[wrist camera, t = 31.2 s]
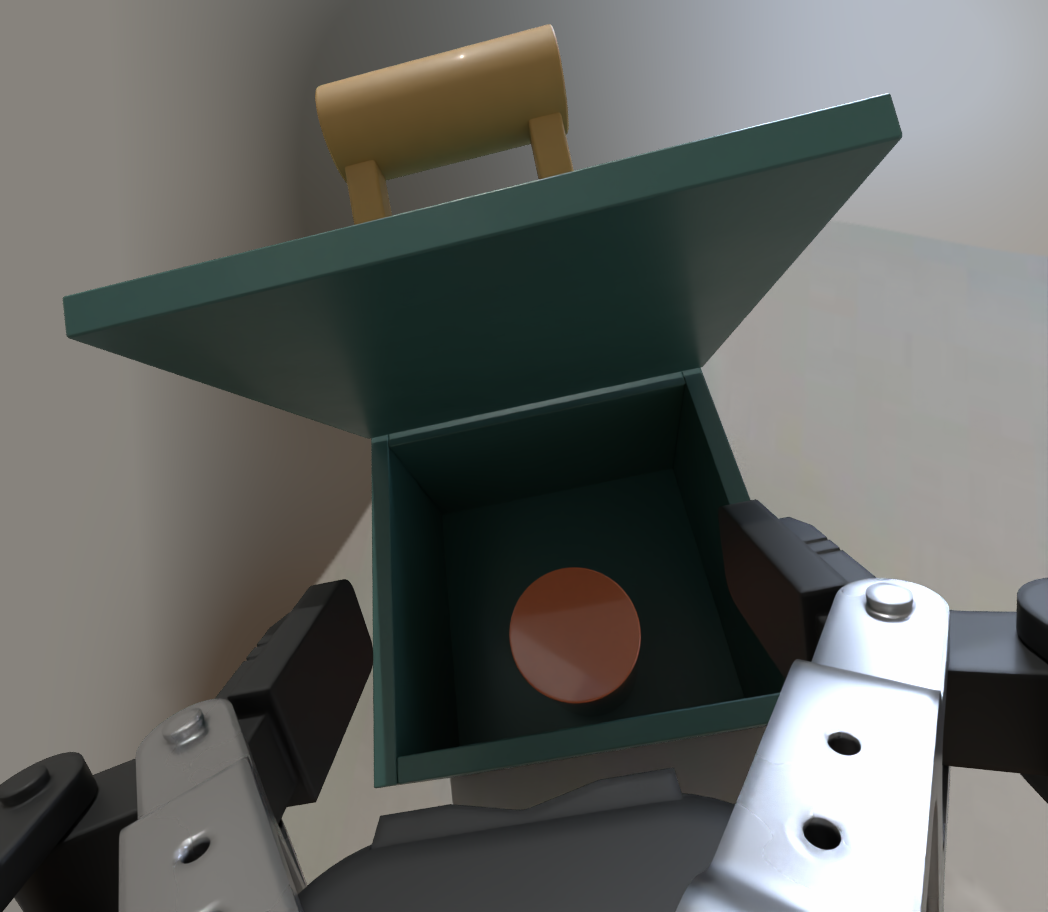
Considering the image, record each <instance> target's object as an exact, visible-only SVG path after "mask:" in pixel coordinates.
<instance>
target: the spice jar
mask: <svg viewBox="0 0 1048 912" xmlns="http://www.w3.org/2000/svg"><path fill="white" fill-rule="evenodd" d="M509 642H510V648H511V653H512V656H513V659H514V662H515V664H516V666H517V668H518V670H519V671H520V673H521V674H522V676H523V677H524V678H525V680H526V681H527V682H528V683H529V684H530V685H531V686H532V687H533V688H534V689H536V690H537V691H538V692H540V693H541V694H543V695H544V696H546V697H547V698H549V699H550V700H552V701H553V702H555V703H556V704H558V705H559V706H561V707H562V708H564V709H565V710H567V711H569V712H571V713H573V714H576V715H580V716H585V717H595V716H601V715H605V714H607V713H610V712H612V711H614V710H615V709H617V708H618V707H619V706H621V705H622V704H623V703H624V702H625V701H626V700H627V698H628V697H629V695H630V694H631V692H632V690H633V688H634V686H635V683H636V679H637V674H638V664H639V655H640V645H641V627H640V621H639V618H638V614H637V611H636V609H635V607H634V604H633V602H632V601H631V599H630V598H629V596H628V595H627V593H626V592H625V591H624V590H623V589H622V588H621V587H620V586H619V585H618V584H617V583H616V582H615V581H613V580H612V579H611V578H609V577H607V576H606V575H604V574H602V573H600V572H597V571H595V570H591V569H587V568H580V567H569V568H562V569H558V570H554V571H551V572H549V573H547V574H545V575H543V576H541V577H539V578H538V579H537V580H535V581H534V582H533V583H532V584H531V585H530V586H529V587H527V589H526V590H525V591H524V592H523V594H522V595H521V596H520V598H519V600H518V601H517V603H516V605H515V608H514V610H513V613H512V616H511V621H510V627H509Z"/></svg>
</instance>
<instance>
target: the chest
mask: <svg viewBox="0 0 1048 912" xmlns="http://www.w3.org/2000/svg"><path fill="white" fill-rule="evenodd" d="M371 440H372V574H373V704H374V788H381V787H388V786H395V785H402V784H409V783H416V782H423V781H430V780H437V779H444V778H451V777H457V776H463V775H470V774H476V773H482V772H488V771H494V770H500V769H506V768H512V767H518V766H524V765H531V764H537V763H543V762H549V761H555V760H561V759H567V758H573V757H579V756H585V755H592V754H598V753H604V752H610V751H616V750H622V749H628V748H634V747H640V746H647V745H653V744H659V743H665V742H671V741H677V740H683V739H689V738H695V737H701V736H708V735H714V734H720V733H726V732H732V731H738V730H744V729H750V728H756V727H762V726H767V725H768V722H769V720H770V717H771V715H772V712H773V710H774V707H775V705H776V702H777V700H778V698H779V695H780V693H781V690H782V688H783V685H784V683H785V679H784V677H783V676H782V674H781V673H780V671H779V670H778V668H777V667H776V665H775V664H774V662H773V661H772V659H771V658H770V656H769V655H768V653H767V652H766V650H765V649H764V647H763V646H762V644H761V643H760V641H759V640H758V638H757V637H756V635H755V634H754V632H753V631H752V629H751V628H750V626H749V625H748V623H747V622H746V620H745V618H744V617H743V615H742V614H741V612H740V611H739V609H738V608H737V606H736V605H735V603H734V601H733V599H732V597H731V594H730V591H729V588H728V585H727V581H726V576H725V569H724V561H723V554H722V546H721V538H720V531H719V523H718V509H719V507H720V506H725V505H730V504H735V503H740V502H745V501H750V498H749V495H748V492H747V490H746V487H745V484H744V482H743V479H742V476H741V474H740V471H739V469H738V466H737V463H736V461H735V458H734V455H733V453H732V450H731V447H730V445H729V442H728V439H727V437H726V434H725V431H724V429H723V426H722V424H721V421H720V418H719V416H718V413H717V410H716V408H715V405H714V402H713V400H712V397H711V394H710V392H709V389H708V386H707V384H706V381H705V378H704V376H703V373H702V371H701V368H695V369H690V370H686V371H681V372H677V373H672V374H667V375H663V376H658V377H653V378H649V379H644V380H639V381H635V382H630V383H625V384H621V385H616V386H611V387H607V388H602V389H597V390H593V391H588V392H584V393H579V394H574V395H570V396H565V397H560V398H556V399H551V400H546V401H542V402H537V403H532V404H528V405H523V406H518V407H514V408H509V409H505V410H500V411H495V412H491V413H486V414H481V415H477V416H472V417H467V418H463V419H458V420H453V421H449V422H444V423H439V424H435V425H430V426H426V427H421V428H416V429H412V430H407V431H402V432H398V433H393V434H388V435H384V436H379V437H374V438H371ZM569 567H580V568H587V569H591V570H595V571H597V572H600V573H602V574H604V575H606V576H607V577H609V578H611V579H612V580H613V581H615V582H616V583H617V584H618V585H619V586H620V587H621V588H622V589H623V590H624V591H625V592H626V593H627V595H628V596H629V598H630V599H631V601H632V602H633V604H634V607H635V609H636V611H637V614H638V618H639V621H640V627H641V645H640V655H639V664H638V674H637V679H636V683H635V686H634V688H633V690H632V692H631V694H630V695H629V697H628V698H627V700H626V701H625V702H624V703H623V704H622V705H621V706H619V707H618V708H617V709H615V710H614V711H612V712H610V713H607V714H605V715H601V716H595V717H585V716H580V715H576V714H573V713H571V712H569V711H567V710H565V709H564V708H562V707H561V706H559V705H558V704H556V703H555V702H553V701H552V700H550V699H549V698H547V697H546V696H544V695H543V694H541V693H540V692H538V691H537V690H536V689H534V688H533V687H532V686H531V685H530V684H529V683H528V682H527V681H526V680H525V678H524V677H523V676H522V674H521V673H520V671H519V670H518V668H517V666H516V664H515V662H514V659H513V656H512V653H511V648H510V642H509V627H510V621H511V616H512V613H513V610H514V608H515V605H516V603H517V601H518V600H519V598H520V596H521V595H522V594H523V592H524V591H525V590H526V589H527V587H529V586H530V585H531V584H532V583H533V582H534V581H535V580H537V579H538V578H539V577H541V576H543V575H545V574H547V573H549V572H551V571H554V570H558V569H562V568H569Z"/></svg>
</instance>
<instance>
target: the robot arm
mask: <svg viewBox="0 0 1048 912" xmlns="http://www.w3.org/2000/svg"><path fill="white" fill-rule="evenodd" d="M718 523H719V531H720V538H721V546H722V554H723V561H724V569H725V576H726V581H727V585H728V588H729V591H730V594H731V597H732V599H733V601H734V603H735V605H736V606H737V608H738V609H739V611H740V612H741V614H742V615H743V617H744V618H745V620H746V622H747V623H748V625H749V626H750V628H751V629H752V631H753V632H754V634H755V635H756V637H757V638H758V640H759V641H760V643H761V644H762V646H763V647H764V649H765V650H766V652H767V653H768V655H769V656H770V658H771V659H772V661H773V662H774V664H775V665H776V667H777V668H778V670H779V671H780V673H781V674H782V676H783V677H784V679H785V683H784V685H783V688H782V690H781V693H780V695H779V698H778V700H777V702H776V705H775V707H774V710H773V712H772V715H771V717H770V720H769V722H768V725H767V727H766V730H765V732H764V735H763V737H762V740H761V742H760V745H759V747H758V750H757V752H756V755H755V757H754V760H753V762H752V764H751V767H750V769H749V772H748V774H747V777H746V779H745V782H744V784H743V787H742V789H741V792H740V794H739V797H738V799H737V802H736V804H732V803H728V802H725V801H722V800H718V799H715V798H710V797H705V796H699V795H694V794H683V793H681V790H680V787H679V783H678V780H677V777H676V773H675V770H674V768H668V769H662V770H656V771H650V772H644V773H638V774H632V775H626V776H620V777H614V778H608V779H601V780H598V781H595V782H593V783H591V784H588V785H586V786H583V787H581V788H578V789H576V790H573V791H571V792H568V793H566V794H563V795H561V796H559V797H556V798H554V799H551V800H549V801H546V802H544V803H541V804H539V805H536V806H534V807H531V808H528V809H524V810H512V809H500V808H488V807H475V806H463V805H451V804H450V805H444V806H438V807H432V808H426V809H419V810H413V811H407V812H401V813H395V814H389V815H383V816H380V818H379V822H378V825H377V829H376V832H375V836H374V839H373V843H372V845H370V846H367V847H365V848H363V849H361V850H359V851H357V852H355V853H353V854H351V855H349V856H348V857H346V858H344V859H343V860H341V861H340V862H338V863H337V864H335V865H333V866H332V867H330V868H329V869H328V870H326V871H325V872H324V873H322V874H321V875H320V876H318V877H317V878H316V879H315V880H313V881H312V882H311V883H310V884H309V885H308V886H307V883H306V880H305V878H304V875H303V872H302V870H301V867H300V864H299V861H298V859H297V856H296V853H295V851H294V848H293V845H292V843H291V840H290V837H289V835H288V832H287V830H286V827H285V825H284V823H283V820H282V816H283V813H284V811H285V809H286V807H290V806H296V805H302V804H308V803H314V802H316V801H317V798H318V796H319V794H320V791H321V789H322V786H323V784H324V782H325V779H326V777H327V775H328V772H329V770H330V767H331V765H332V763H333V760H334V758H335V756H336V753H337V751H338V748H339V746H340V744H341V741H342V739H343V737H344V734H345V732H346V729H347V727H348V725H349V722H350V720H351V717H352V715H353V713H354V710H355V708H356V706H357V703H358V701H359V698H360V696H361V694H362V691H363V689H364V687H365V684H366V682H367V679H368V677H369V675H370V672H371V669H372V665H373V647H372V642H371V639H370V636H369V633H368V630H367V627H366V624H365V621H364V618H363V615H362V612H361V609H360V606H359V603H358V600H357V597H356V594H355V591H354V589H353V587H352V585H351V583H350V582H349V581H348V580H346V579H343V580H338V581H333V582H328V583H323V584H318V585H313V586H310V587H309V589H308V590H307V591H306V592H305V594H304V595H303V596H302V598H301V599H300V600H299V602H298V603H297V604H296V606H295V607H294V608H293V610H292V611H291V612H290V613H288V614H287V615H286V616H284V617H283V618H282V619H281V620H279V621H278V622H277V623H276V624H274V625H273V626H272V627H270V628H269V630H268V631H267V632H266V633H265V635H264V636H263V637H262V639H261V640H260V641H259V642H258V644H257V647H255V648H254V649H253V650H252V651H251V653H250V654H249V655H248V657H247V661H244V662H243V663H242V664H241V666H240V667H239V668H238V670H237V671H236V672H235V673H234V675H233V676H232V677H231V679H230V680H229V681H228V682H227V684H226V685H225V686H224V687H223V689H222V690H221V691H220V692H219V694H218V695H217V696H216V698H215V699H211V700H206V701H202V702H199V703H196V704H194V705H191V706H189V707H187V708H185V709H183V710H181V711H179V712H177V713H175V714H174V715H172V716H171V717H169V718H167V719H166V720H165V721H163V722H162V723H161V724H159V725H158V726H157V727H156V728H154V729H153V730H152V731H151V732H150V733H149V734H148V735H147V736H146V737H145V739H144V740H143V741H142V743H141V744H140V746H139V747H138V750H137V752H136V759H133V760H131V761H128V762H125V763H123V764H120V765H118V766H115V767H112V768H110V769H107V770H105V771H102V772H100V773H97V774H95V775H92V773H91V771H90V769H89V767H88V766H87V764H86V762H85V760H84V758H83V756H82V755H81V754H79V753H76V752H68V753H62V754H58V755H55V756H52V757H49V758H46V759H44V760H42V761H39V762H37V763H35V764H33V765H31V766H29V767H27V768H26V769H24V770H22V771H21V772H19V773H17V774H15V775H14V776H12V777H11V778H9V779H8V780H6V781H5V782H3V783H2V784H1V785H0V912H3V910H4V909H5V908H6V907H7V906H8V904H9V903H10V902H11V901H12V899H13V898H15V900H16V901H17V902H18V904H19V906H20V907H21V909H22V910H23V912H944V879H945V860H946V841H947V823H948V805H949V787H950V766H954V767H964V768H974V769H984V770H993V771H1003V772H1013V773H1020V774H1021V775H1022V776H1023V778H1024V779H1025V780H1026V781H1027V782H1028V783H1029V784H1030V785H1031V786H1032V787H1033V788H1034V789H1035V791H1036V792H1037V793H1038V794H1039V795H1040V796H1041V797H1042V798H1043V799H1044V800H1045V801H1046V802H1047V803H1048V578H1043V579H1038V580H1034V581H1031V582H1028V583H1026V584H1024V585H1023V586H1022V587H1021V588H1020V589H1019V590H1018V593H1017V612H988V611H954V610H949V607H948V604H947V602H946V601H945V600H944V599H943V598H942V597H941V596H940V595H938V594H937V593H935V592H934V591H932V590H930V589H928V588H926V587H923V586H921V585H918V584H915V583H911V582H907V581H903V580H897V579H887V578H876V577H875V576H874V575H872V574H871V573H870V572H869V571H868V570H866V569H865V568H864V567H863V566H861V565H860V564H859V563H858V562H856V561H855V560H854V559H853V558H852V557H850V556H849V555H848V554H847V553H845V552H844V551H843V550H840V549H839V547H838V546H837V545H836V544H834V543H833V542H832V541H831V540H827V537H826V536H825V535H823V534H822V533H821V532H820V531H818V530H817V529H816V528H815V527H814V526H812V525H810V524H807V523H804V522H802V521H799V520H796V519H793V518H791V517H786V518H780V519H778V518H777V517H776V516H775V515H774V514H772V513H771V512H770V511H769V510H768V509H767V508H766V507H765V506H764V505H762V504H761V503H760V502H759V501H758V500H756V499H755V500H750V501H745V502H740V503H735V504H730V505H725V506H720V507H719V509H718Z"/></svg>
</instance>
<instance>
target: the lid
mask: <svg viewBox="0 0 1048 912" xmlns="http://www.w3.org/2000/svg"><path fill="white" fill-rule="evenodd" d="M315 99H316V108H317V113H318V118H319V122H320V126H321V129H322V132H323V136H324V139H325V141H326V144H327V147H328V149H329V152H330V154H331V157H332V159H333V161H334V163H335V165H336V167H337V169H338V171H339V173H340V174H341V176H342V177H343V179H344V180H345V182H346V183H347V184H348V190H349V196H350V202H351V208H352V213H353V219H354V225H352V226H348V227H345V228H340V229H336V230H332V231H328V232H324V233H320V234H316V235H312V236H308V237H304V238H300V239H296V240H291V241H288V242H284V243H280V244H275V245H271V246H267V247H263V248H259V249H255V250H251V251H247V252H243V253H239V254H235V255H231V256H227V257H223V258H219V259H214V260H211V261H207V262H202V263H199V264H194V265H190V266H186V267H182V268H178V269H174V270H170V271H166V272H162V273H158V274H154V275H150V276H146V277H142V278H137V279H133V280H130V281H125V282H121V283H117V284H114V285H109V286H105V287H101V288H97V289H93V290H89V291H85V292H81V293H77V294H73V295H69V296H65V297H63V306H64V316H65V326H66V335H67V337H68V338H70V339H73V340H76V341H79V342H82V343H85V344H88V345H91V346H94V347H97V348H100V349H103V350H106V351H109V352H112V353H115V354H118V355H121V356H123V357H127V358H129V359H133V360H136V361H139V362H141V363H144V364H147V365H150V366H153V367H156V368H159V369H162V370H165V371H168V372H172V373H175V374H177V375H180V376H183V377H186V378H189V379H192V380H195V381H198V382H201V383H204V384H207V385H210V386H213V387H216V388H219V389H222V390H225V391H228V392H231V393H234V394H237V395H240V396H243V397H246V398H249V399H252V400H255V401H258V402H261V403H264V404H267V405H270V406H273V407H276V408H279V409H282V410H285V411H287V412H291V413H293V414H296V415H299V416H302V417H305V418H309V419H311V420H314V421H317V422H320V423H323V424H326V425H329V426H333V427H335V428H338V429H341V430H344V431H347V432H350V433H353V434H356V435H359V436H362V437H365V438H369V439H370V438H374V437H379V436H384V435H388V434H393V433H398V432H402V431H407V430H412V429H416V428H421V427H426V426H430V425H435V424H439V423H444V422H449V421H453V420H458V419H463V418H467V417H472V416H477V415H481V414H486V413H491V412H495V411H500V410H505V409H509V408H514V407H518V406H523V405H528V404H532V403H537V402H542V401H546V400H551V399H556V398H560V397H565V396H570V395H574V394H579V393H584V392H588V391H593V390H597V389H602V388H607V387H611V386H616V385H621V384H625V383H630V382H635V381H639V380H644V379H649V378H653V377H658V376H663V375H667V374H672V373H677V372H681V371H686V370H690V369H695V368H700V367H703V366H704V365H705V363H706V362H707V361H708V360H709V359H710V358H711V357H712V355H713V354H714V353H715V352H716V351H717V350H718V348H719V347H720V346H721V345H722V344H723V343H724V342H725V340H726V339H727V338H728V337H729V336H730V335H731V334H732V332H733V331H734V330H735V329H736V328H737V327H738V325H739V324H740V323H741V322H742V321H743V320H744V319H745V317H746V316H747V315H748V314H749V313H750V312H751V311H752V309H753V308H754V307H755V306H756V305H757V304H758V302H759V301H760V300H761V299H762V298H763V297H764V296H765V294H766V293H767V292H768V291H769V290H770V289H771V288H772V286H773V285H774V284H775V283H776V282H777V281H778V279H779V278H780V277H781V276H782V275H783V274H784V273H785V271H786V270H787V269H788V268H789V267H790V266H791V265H792V263H793V262H794V261H795V260H796V259H797V258H798V256H799V255H800V254H801V253H802V252H803V251H804V250H805V248H806V247H807V246H808V245H809V244H810V243H811V242H812V240H813V239H814V238H815V237H816V236H817V235H818V233H819V232H820V231H821V230H822V229H823V228H824V227H825V225H826V224H827V223H828V222H829V221H830V220H831V218H832V217H833V216H834V215H835V214H836V213H837V212H838V210H839V209H840V208H841V207H842V206H843V205H844V203H845V202H846V201H847V200H848V199H849V198H850V196H852V194H853V193H854V192H855V191H856V190H857V189H858V187H859V186H860V185H861V184H862V183H863V182H864V181H865V179H866V178H867V177H868V176H869V175H870V174H871V173H872V171H873V170H874V169H875V168H876V167H877V166H878V165H879V163H880V162H881V161H882V160H883V159H884V157H885V156H886V155H887V154H888V153H889V152H890V151H891V150H892V148H893V147H894V146H895V145H896V144H897V143H898V141H899V140H900V139H901V138H902V132H901V128H900V125H899V122H898V118H897V115H896V111H895V108H894V105H893V101H892V98H891V95H890V94H883V95H879V96H875V97H871V98H867V99H863V100H859V101H855V102H852V103H847V104H843V105H839V106H835V107H831V108H826V109H822V110H819V111H815V112H811V113H807V114H803V115H798V116H794V117H790V118H786V119H782V120H778V121H774V122H770V123H766V124H762V125H758V126H754V127H750V128H745V129H742V130H737V131H733V132H729V133H725V134H721V135H717V136H713V137H709V138H705V139H701V140H697V141H693V142H689V143H685V144H681V145H676V146H672V147H669V148H664V149H660V150H656V151H652V152H648V153H644V154H640V155H636V156H632V157H628V158H624V159H620V160H616V161H612V162H608V163H604V164H599V165H595V166H592V167H587V168H584V169H579V170H575V171H574V170H573V166H572V161H571V157H570V152H569V148H568V143H567V139H566V134H567V133H568V126H569V123H568V122H569V121H568V107H567V98H566V89H565V82H564V75H563V69H562V63H561V58H560V53H559V48H558V43H557V39H556V35H555V32H554V30H553V27H552V26H551V25H550V24H548V25H545V26H540V27H537V28H533V29H530V30H525V31H522V32H518V33H514V34H511V35H507V36H503V37H499V38H496V39H492V40H488V41H484V42H481V43H477V44H473V45H469V46H466V47H462V48H458V49H455V50H451V51H447V52H443V53H440V54H436V55H433V56H428V57H425V58H421V59H417V60H414V61H410V62H406V63H402V64H399V65H395V66H391V67H388V68H384V69H380V70H376V71H373V72H369V73H365V74H362V75H358V76H354V77H350V78H347V79H343V80H339V81H335V82H332V83H328V84H324V85H320V86H319V87H318V88H317V89H316V94H315ZM529 144H531V146H532V150H533V155H534V160H535V164H536V169H537V174H538V178H539V180H535V181H531V182H527V183H523V184H518V185H514V186H511V187H506V188H502V189H499V190H494V191H490V192H486V193H482V194H478V195H474V196H470V197H466V198H462V199H458V200H454V201H450V202H446V203H441V204H437V205H433V206H429V207H425V208H421V209H417V210H413V211H409V212H405V213H401V214H397V215H393V216H392V213H391V208H390V202H389V197H388V191H387V186H386V180H390V179H394V178H398V177H402V176H406V175H410V174H413V173H418V172H422V171H425V170H429V169H433V168H437V167H441V166H445V165H449V164H453V163H457V162H461V161H465V160H469V159H473V158H477V157H481V156H485V155H489V154H493V153H497V152H501V151H505V150H508V149H512V148H517V147H521V146H525V145H529Z"/></svg>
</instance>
